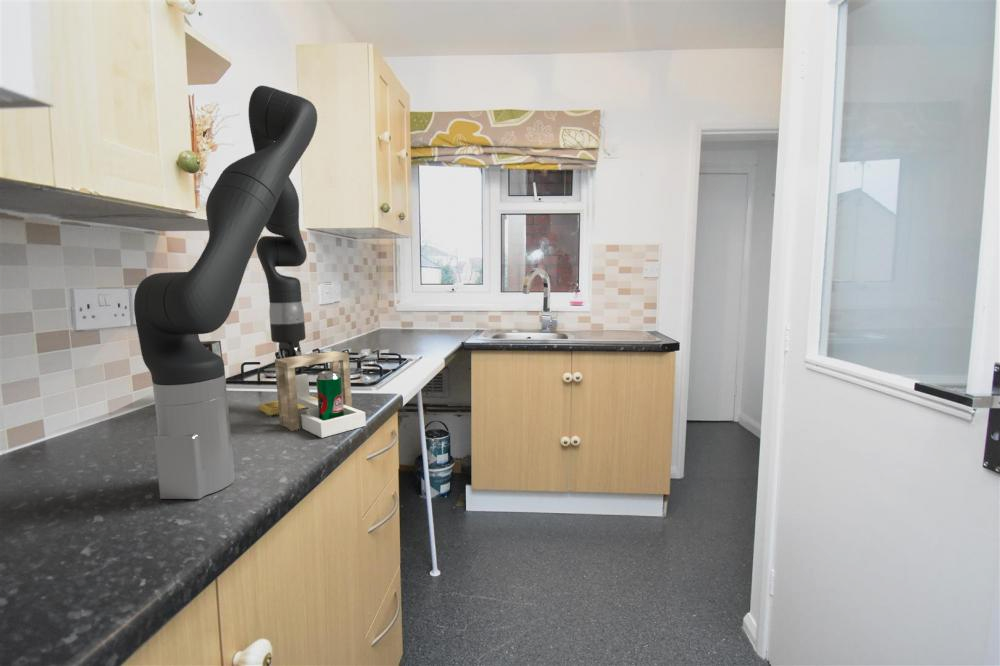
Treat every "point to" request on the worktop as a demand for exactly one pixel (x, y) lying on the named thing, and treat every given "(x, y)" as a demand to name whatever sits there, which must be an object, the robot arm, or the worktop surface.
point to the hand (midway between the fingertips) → (292, 391)
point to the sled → (328, 427)
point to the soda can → (330, 395)
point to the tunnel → (288, 382)
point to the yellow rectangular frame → (276, 407)
